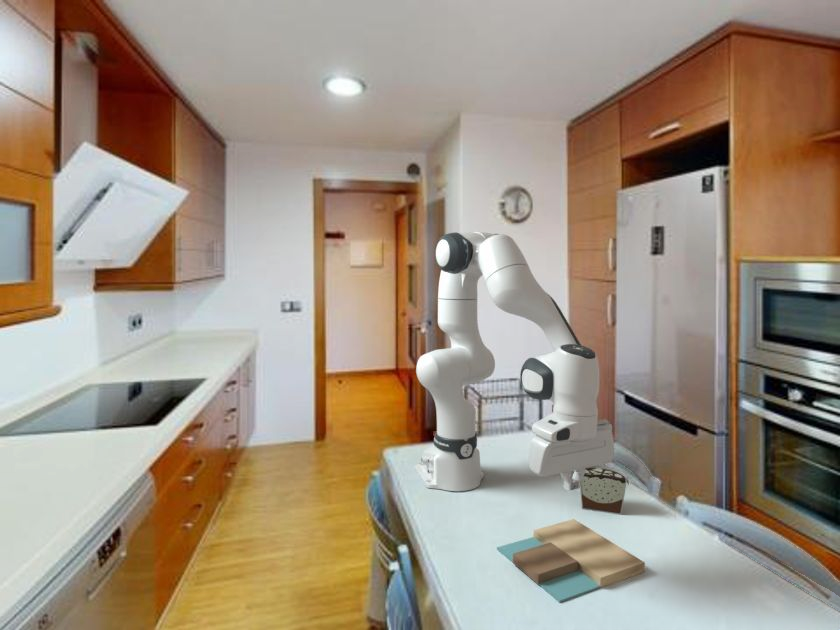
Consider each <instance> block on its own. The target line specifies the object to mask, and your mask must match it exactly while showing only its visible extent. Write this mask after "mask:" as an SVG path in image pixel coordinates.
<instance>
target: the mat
mask: <svg viewBox="0 0 840 630" xmlns="http://www.w3.org/2000/svg"><path fill="white" fill-rule="evenodd" d="M540 545H544V544H542V543H541V542H540V541H538V540H537V539H535V538H534V537H533V536H532V537H528V538H525V539H522V540H518V541H514V542H511V543H507V544H505V545H501V546H496V550H497V551H498V552H499V553H500V554H502V555H503V556H504V557H505V558H507V560H509V561H510V562H511V563H512V564H513V554H514V553H517V552H520V551H524V550H527V549H530V548H534V547H537V546H540ZM537 585H538V586H539V587H541V588H542V589H543V590H544V591H545V592H546V593H548V594H549V595H550V596H551V597H552V598H554V600H555V601H556V602H557V603H563V602H565V601H568V600H571V599H574V598H576V597H579V596H581V595H584V594H587V593H590V592H593V591H595V590H599V589H601V588H600V585H598V584H597V583H596V582H594V581H593V580H592V579H590V578H589V577H587V576H586V575H585V574H583V573H582V572H581V571H579V570H578V571H576V572H573V573H570V574H567V575H564V576H561V577H558V578H555V579H552V580H549V581H546V582H544V583H541V584H537Z"/></svg>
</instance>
